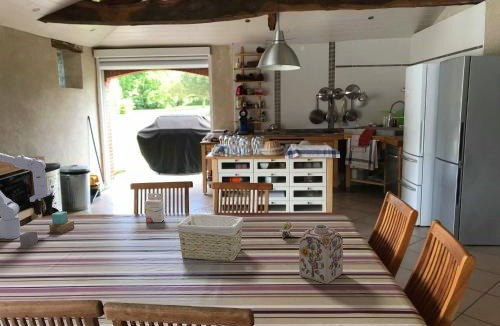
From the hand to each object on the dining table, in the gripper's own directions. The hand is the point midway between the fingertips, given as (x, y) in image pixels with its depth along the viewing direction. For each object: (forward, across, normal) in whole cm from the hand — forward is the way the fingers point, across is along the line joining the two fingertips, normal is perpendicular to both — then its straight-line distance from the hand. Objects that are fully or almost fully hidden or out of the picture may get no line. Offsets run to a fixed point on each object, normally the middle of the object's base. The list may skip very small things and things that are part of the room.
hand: (43, 212), depth 201 cm
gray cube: (+10, -15, -2) cm, 19 cm away
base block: (+11, +6, -5) cm, 13 cm away
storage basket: (+12, -18, -88) cm, 91 cm away
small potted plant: (+13, +6, -117) cm, 118 cm away
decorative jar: (+13, -33, -132) cm, 137 cm away
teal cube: (+7, +6, -4) cm, 10 cm away
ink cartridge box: (+12, +24, -46) cm, 53 cm away
